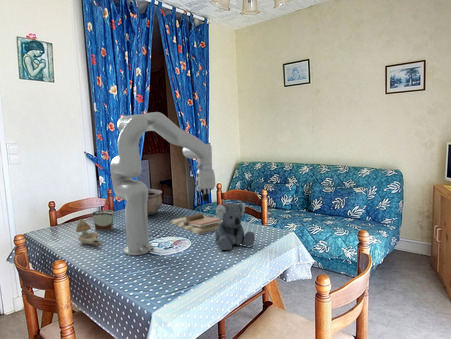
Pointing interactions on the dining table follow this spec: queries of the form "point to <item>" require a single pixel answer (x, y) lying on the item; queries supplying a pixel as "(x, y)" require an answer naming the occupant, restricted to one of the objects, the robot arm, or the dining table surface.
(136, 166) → the robot arm
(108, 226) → the food container
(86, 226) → the oil lamp
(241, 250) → the dining table surface
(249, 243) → the koala plush
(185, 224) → the tile stand
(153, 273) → the dining table surface
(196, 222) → the tile
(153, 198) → the ceramic bowl
